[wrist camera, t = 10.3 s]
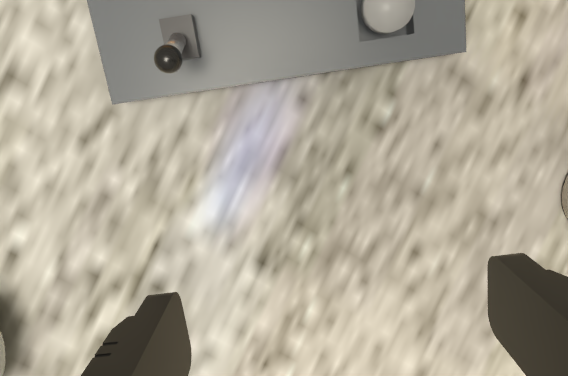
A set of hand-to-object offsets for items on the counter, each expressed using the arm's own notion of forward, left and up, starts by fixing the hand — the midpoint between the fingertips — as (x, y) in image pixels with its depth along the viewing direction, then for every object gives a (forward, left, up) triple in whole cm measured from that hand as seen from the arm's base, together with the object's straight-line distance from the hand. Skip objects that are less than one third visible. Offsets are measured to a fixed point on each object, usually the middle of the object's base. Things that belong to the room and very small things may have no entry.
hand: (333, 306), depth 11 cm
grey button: (-8, -10, -25) cm, 28 cm away
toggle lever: (+8, -10, -24) cm, 26 cm away
